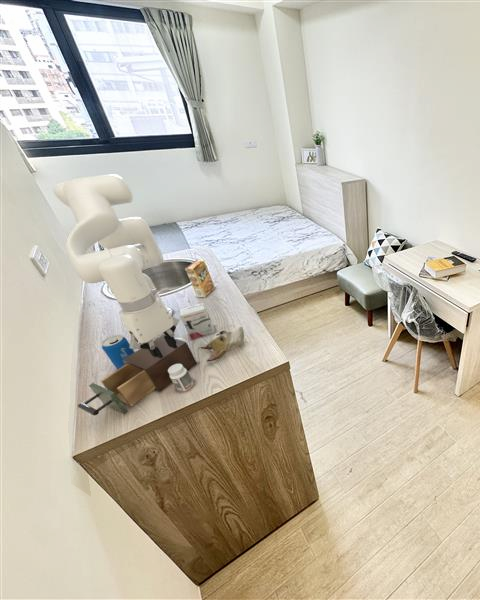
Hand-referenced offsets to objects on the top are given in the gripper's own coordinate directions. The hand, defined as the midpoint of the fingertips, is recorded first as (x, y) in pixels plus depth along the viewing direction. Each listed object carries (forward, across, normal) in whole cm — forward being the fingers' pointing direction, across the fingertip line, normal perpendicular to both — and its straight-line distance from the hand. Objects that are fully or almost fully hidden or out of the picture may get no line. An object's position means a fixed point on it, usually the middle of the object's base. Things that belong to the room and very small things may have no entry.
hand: (166, 351), depth 95 cm
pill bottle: (+15, 0, 0) cm, 15 cm away
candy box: (+15, -45, -44) cm, 64 cm away
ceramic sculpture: (+15, -18, -1) cm, 24 cm away
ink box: (+15, -22, -18) cm, 33 cm away
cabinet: (+15, -2, -11) cm, 19 cm away
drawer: (+14, +11, -11) cm, 21 cm away
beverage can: (+15, +1, -26) cm, 31 cm away
